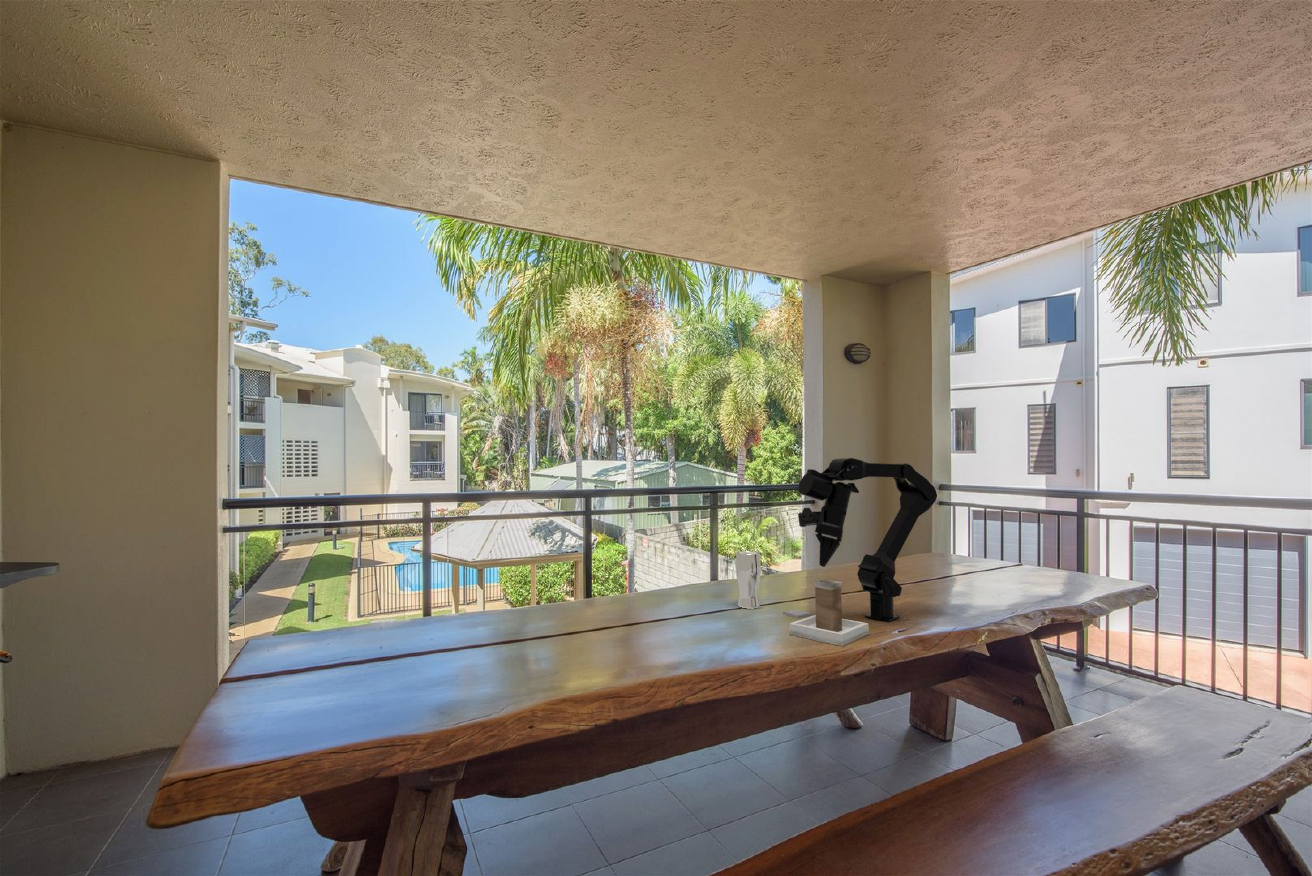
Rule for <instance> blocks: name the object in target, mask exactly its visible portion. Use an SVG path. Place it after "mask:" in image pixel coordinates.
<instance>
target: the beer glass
mask: <svg viewBox="0 0 1312 876" xmlns="http://www.w3.org/2000/svg"><path fill="white" fill-rule="evenodd" d="M761 566H762V564H761V553H760V552H758V551H749V550H748V551H745V550H744V551H737V552H736V558H735V575H736V583H737V587H738V601H737V607H738V606H740V607H742V608H741V609H743V608H747V609H746V610H754V608H757V609H759V608H760V607H761V606H760V599H759V589H760V588H759V586H760V580H761V572H762V570H761V569H762V567H761ZM758 607H759V608H758Z"/></svg>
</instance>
